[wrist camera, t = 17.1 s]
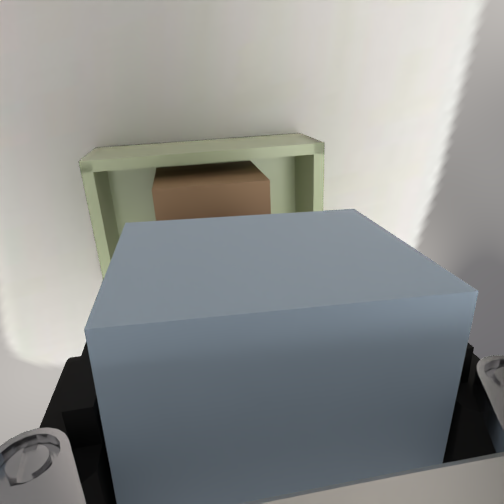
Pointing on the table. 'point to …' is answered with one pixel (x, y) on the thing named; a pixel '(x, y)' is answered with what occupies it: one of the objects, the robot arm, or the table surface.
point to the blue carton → (272, 356)
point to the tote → (194, 153)
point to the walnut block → (210, 191)
